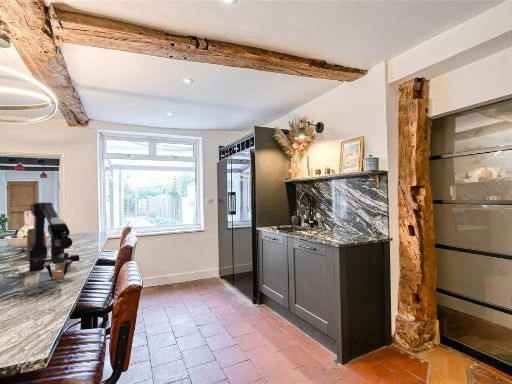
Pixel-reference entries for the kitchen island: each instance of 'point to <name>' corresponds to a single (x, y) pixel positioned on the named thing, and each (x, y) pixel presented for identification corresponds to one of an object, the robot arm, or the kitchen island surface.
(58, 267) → the base block
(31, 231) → the block
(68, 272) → the mat
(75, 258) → the robot arm
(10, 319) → the kitchen island surface
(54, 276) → the peach rounded cylinder
